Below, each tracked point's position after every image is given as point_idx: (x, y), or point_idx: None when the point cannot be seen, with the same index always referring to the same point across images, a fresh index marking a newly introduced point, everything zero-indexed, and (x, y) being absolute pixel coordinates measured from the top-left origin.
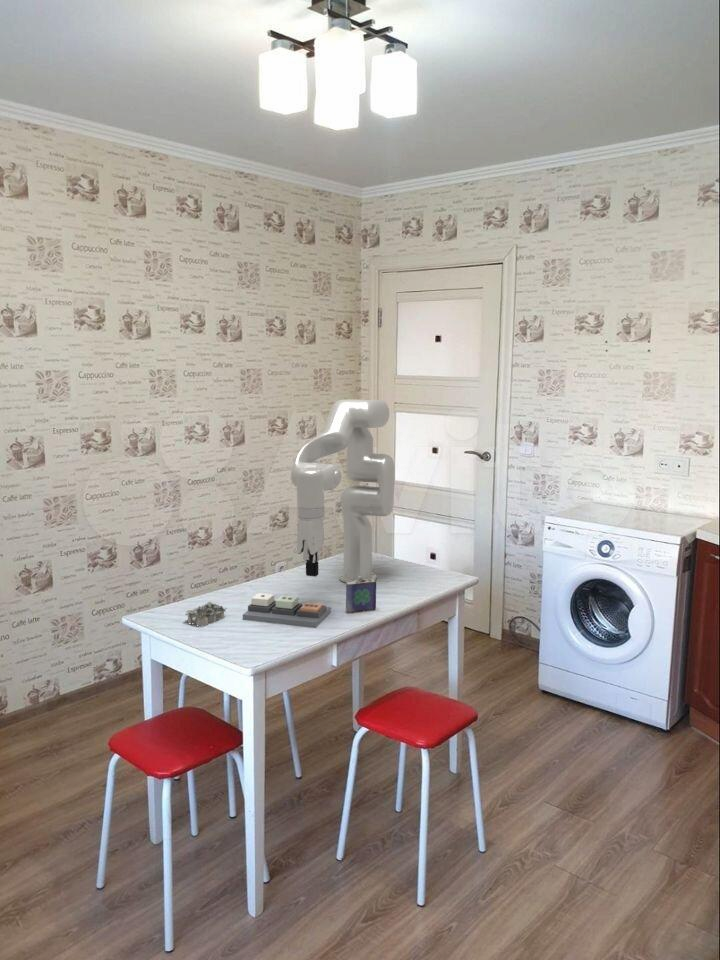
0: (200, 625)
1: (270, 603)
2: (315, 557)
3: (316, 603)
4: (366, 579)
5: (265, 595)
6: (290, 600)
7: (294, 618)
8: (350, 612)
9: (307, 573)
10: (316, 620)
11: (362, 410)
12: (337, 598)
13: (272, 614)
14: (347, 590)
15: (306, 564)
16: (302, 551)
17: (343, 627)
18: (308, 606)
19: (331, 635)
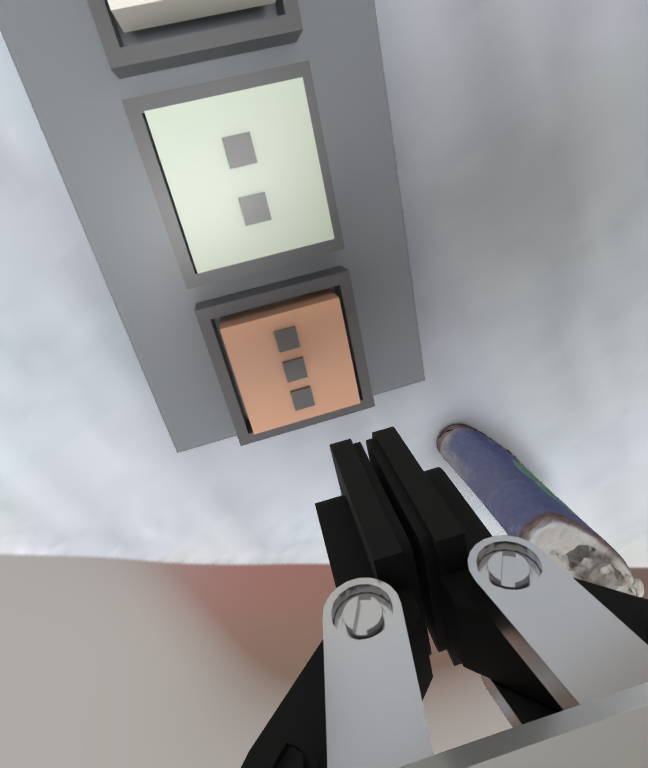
0: None
1: (187, 18)
2: (508, 688)
3: (350, 366)
4: None
5: None
6: (224, 236)
7: (153, 316)
8: (441, 454)
9: (337, 470)
10: (206, 439)
11: None
12: (622, 272)
13: (115, 123)
14: (501, 511)
15: (366, 541)
16: (428, 758)
17: (263, 528)
18: (273, 358)
19: (143, 548)
